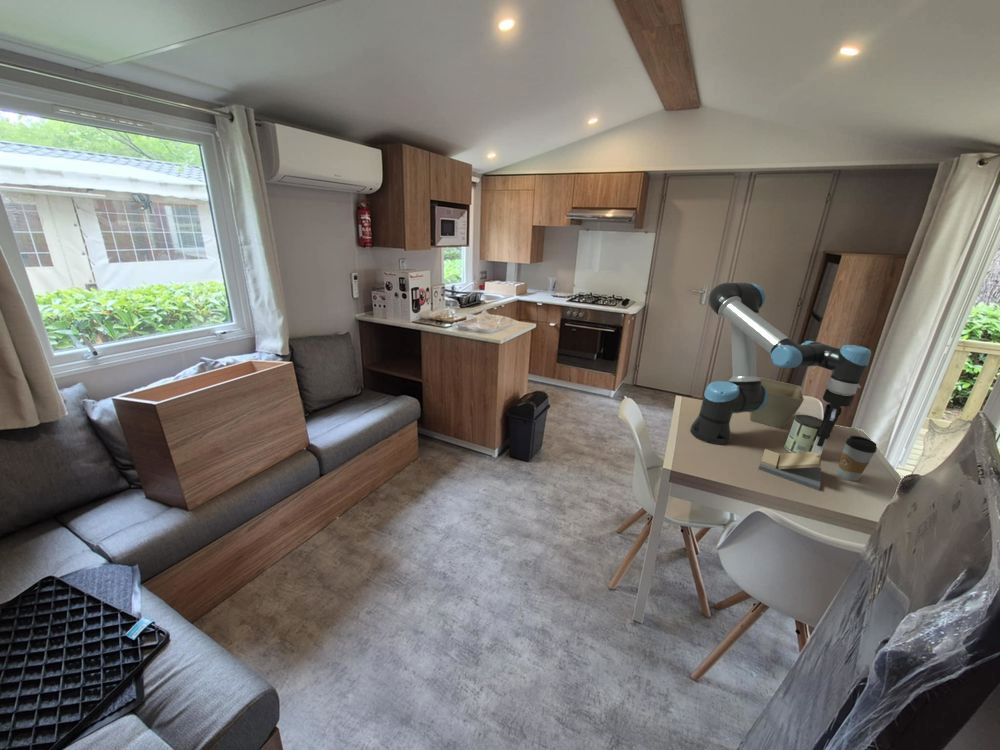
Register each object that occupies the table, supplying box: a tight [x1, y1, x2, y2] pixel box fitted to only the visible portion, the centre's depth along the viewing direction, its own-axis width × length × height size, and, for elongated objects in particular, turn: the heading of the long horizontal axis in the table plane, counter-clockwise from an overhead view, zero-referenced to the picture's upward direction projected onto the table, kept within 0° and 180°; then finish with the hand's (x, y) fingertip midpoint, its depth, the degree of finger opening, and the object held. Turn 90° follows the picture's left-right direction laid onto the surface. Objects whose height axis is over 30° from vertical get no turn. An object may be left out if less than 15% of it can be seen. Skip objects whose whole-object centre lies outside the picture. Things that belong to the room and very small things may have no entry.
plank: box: [778, 452, 822, 469], centre depth 142 cm, size 12×11×1 cm
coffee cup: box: [836, 435, 878, 482], centre depth 140 cm, size 8×8×15 cm
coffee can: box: [784, 414, 823, 453], centre depth 156 cm, size 10×10×14 cm
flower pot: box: [749, 376, 805, 429], centre depth 180 cm, size 19×19×17 cm
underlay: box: [758, 448, 822, 491], centre depth 144 cm, size 18×15×3 cm
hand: (816, 452), depth 138 cm, fingers closed
